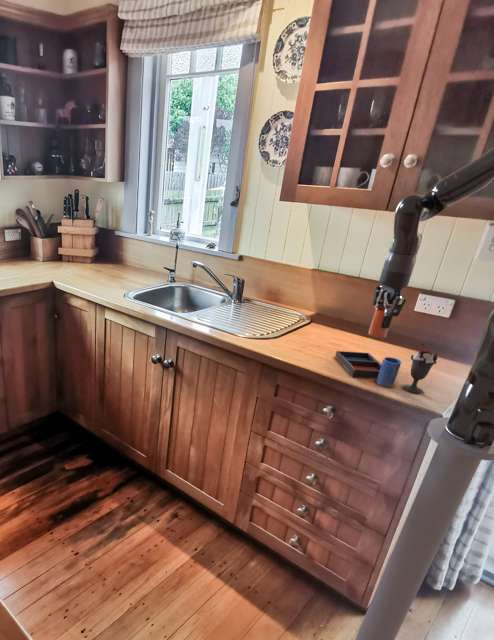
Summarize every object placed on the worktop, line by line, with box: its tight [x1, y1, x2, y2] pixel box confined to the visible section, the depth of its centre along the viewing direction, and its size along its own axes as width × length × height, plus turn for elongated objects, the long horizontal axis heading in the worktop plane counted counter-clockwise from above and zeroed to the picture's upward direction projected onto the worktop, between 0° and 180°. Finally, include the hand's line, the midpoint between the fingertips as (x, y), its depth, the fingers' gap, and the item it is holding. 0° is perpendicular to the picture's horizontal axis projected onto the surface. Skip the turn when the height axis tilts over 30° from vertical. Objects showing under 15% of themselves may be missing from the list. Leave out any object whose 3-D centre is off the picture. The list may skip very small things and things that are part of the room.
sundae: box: [403, 343, 438, 394], centre depth 138 cm, size 7×7×15 cm
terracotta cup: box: [367, 307, 390, 339], centre depth 140 cm, size 5×5×8 cm
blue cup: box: [375, 356, 402, 388], centre depth 142 cm, size 5×5×8 cm
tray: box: [334, 350, 382, 379], centre depth 153 cm, size 15×11×3 cm
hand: (380, 324), depth 140 cm, fingers closed on terracotta cup, 5 cm apart
